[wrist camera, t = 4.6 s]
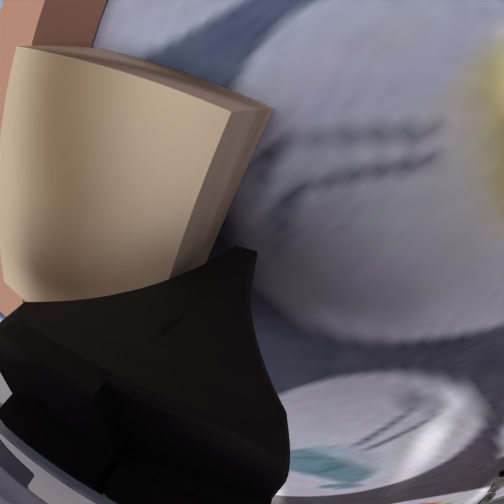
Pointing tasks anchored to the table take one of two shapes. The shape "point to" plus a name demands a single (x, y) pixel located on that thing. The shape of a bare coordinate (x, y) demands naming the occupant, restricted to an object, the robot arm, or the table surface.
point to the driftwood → (498, 503)
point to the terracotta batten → (40, 34)
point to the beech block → (114, 171)
